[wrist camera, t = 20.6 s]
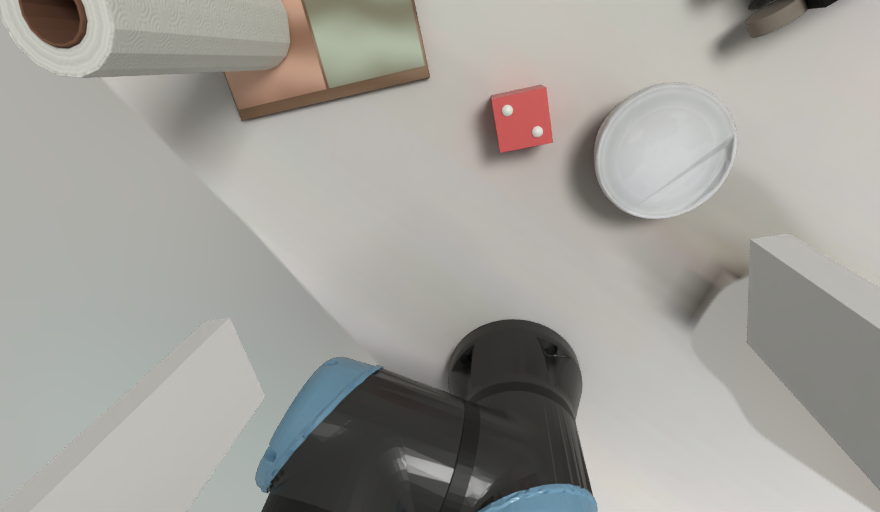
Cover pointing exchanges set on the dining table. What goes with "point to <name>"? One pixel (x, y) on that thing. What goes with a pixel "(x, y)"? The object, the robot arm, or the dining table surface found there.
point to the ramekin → (665, 150)
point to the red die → (522, 118)
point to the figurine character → (778, 14)
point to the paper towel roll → (148, 35)
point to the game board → (335, 55)
